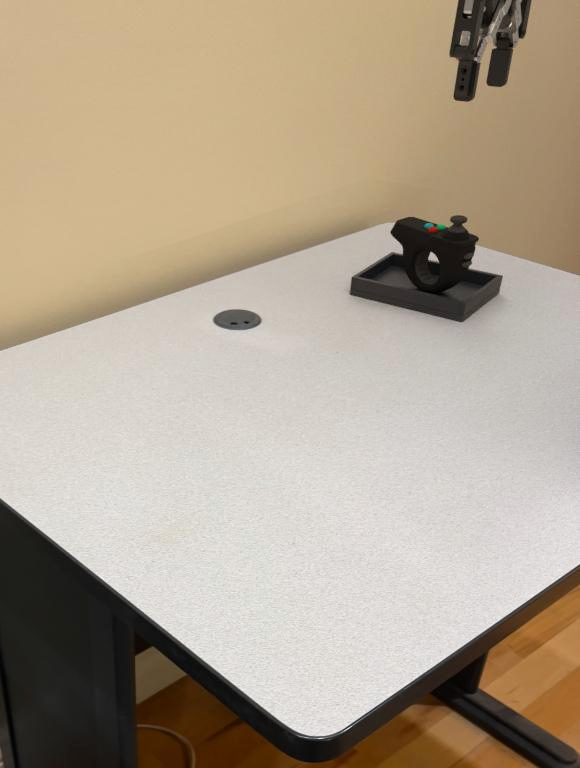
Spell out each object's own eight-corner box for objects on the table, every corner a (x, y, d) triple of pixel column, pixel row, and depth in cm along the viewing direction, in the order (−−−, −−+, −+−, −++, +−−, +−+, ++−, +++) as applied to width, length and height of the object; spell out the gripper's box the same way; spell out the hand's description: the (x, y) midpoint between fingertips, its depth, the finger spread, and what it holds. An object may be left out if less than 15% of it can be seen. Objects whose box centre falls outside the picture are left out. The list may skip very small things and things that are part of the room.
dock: (499, 293, 119) (503, 275, 118) (462, 322, 113) (465, 303, 112) (389, 268, 128) (391, 251, 126) (349, 294, 122) (351, 276, 120)
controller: (449, 306, 115) (464, 227, 109) (379, 279, 123) (389, 203, 117) (472, 298, 117) (488, 219, 110) (402, 271, 125) (413, 196, 118)
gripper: (518, -80, 85) (484, 109, 96) (574, -93, 93) (537, 83, 104) (444, -79, 89) (420, 103, 100) (504, -91, 97) (475, 78, 107)
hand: (480, 93), depth 102 cm, fingers open, 8 cm apart
